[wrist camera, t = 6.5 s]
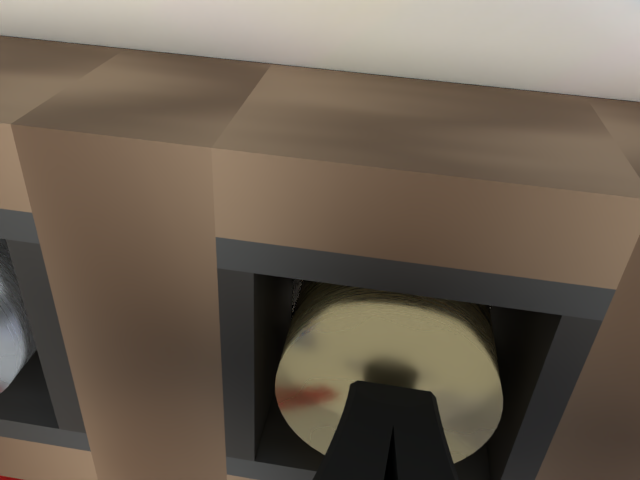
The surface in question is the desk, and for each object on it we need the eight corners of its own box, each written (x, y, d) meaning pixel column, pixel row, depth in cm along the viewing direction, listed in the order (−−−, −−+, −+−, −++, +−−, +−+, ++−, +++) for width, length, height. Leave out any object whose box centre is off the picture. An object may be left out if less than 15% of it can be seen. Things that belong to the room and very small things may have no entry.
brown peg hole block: (725, 111, 11) (857, 224, 8) (578, 431, 16) (619, 583, 13) (-256, 9, 13) (-498, 64, 9) (-111, 325, 18) (-235, 434, 14)
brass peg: (502, 213, 12) (529, 334, 9) (465, 354, 14) (476, 488, 11) (312, 190, 13) (276, 298, 10) (304, 330, 15) (273, 455, 12)
